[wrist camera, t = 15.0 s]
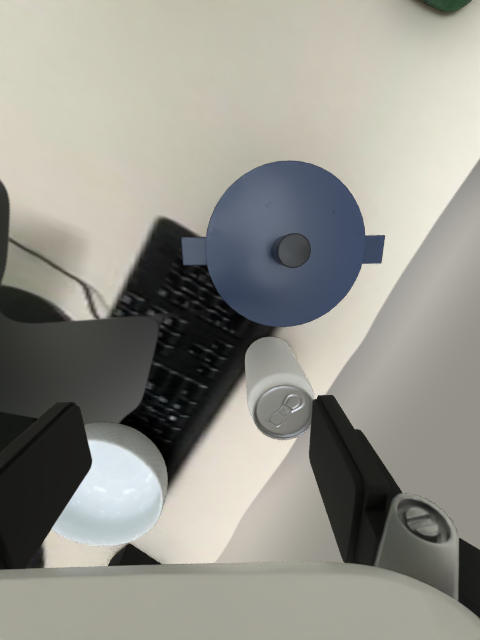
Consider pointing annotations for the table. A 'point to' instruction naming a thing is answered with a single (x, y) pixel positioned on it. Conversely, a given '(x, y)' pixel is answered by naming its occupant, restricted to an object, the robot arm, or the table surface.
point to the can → (277, 389)
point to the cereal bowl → (116, 488)
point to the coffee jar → (447, 4)
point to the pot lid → (285, 243)
